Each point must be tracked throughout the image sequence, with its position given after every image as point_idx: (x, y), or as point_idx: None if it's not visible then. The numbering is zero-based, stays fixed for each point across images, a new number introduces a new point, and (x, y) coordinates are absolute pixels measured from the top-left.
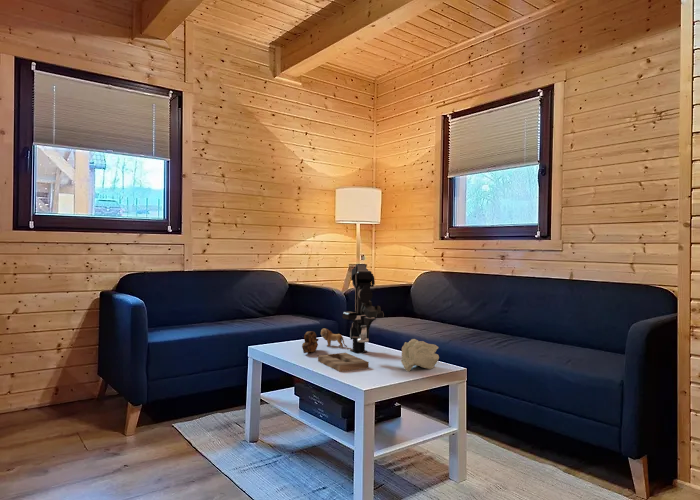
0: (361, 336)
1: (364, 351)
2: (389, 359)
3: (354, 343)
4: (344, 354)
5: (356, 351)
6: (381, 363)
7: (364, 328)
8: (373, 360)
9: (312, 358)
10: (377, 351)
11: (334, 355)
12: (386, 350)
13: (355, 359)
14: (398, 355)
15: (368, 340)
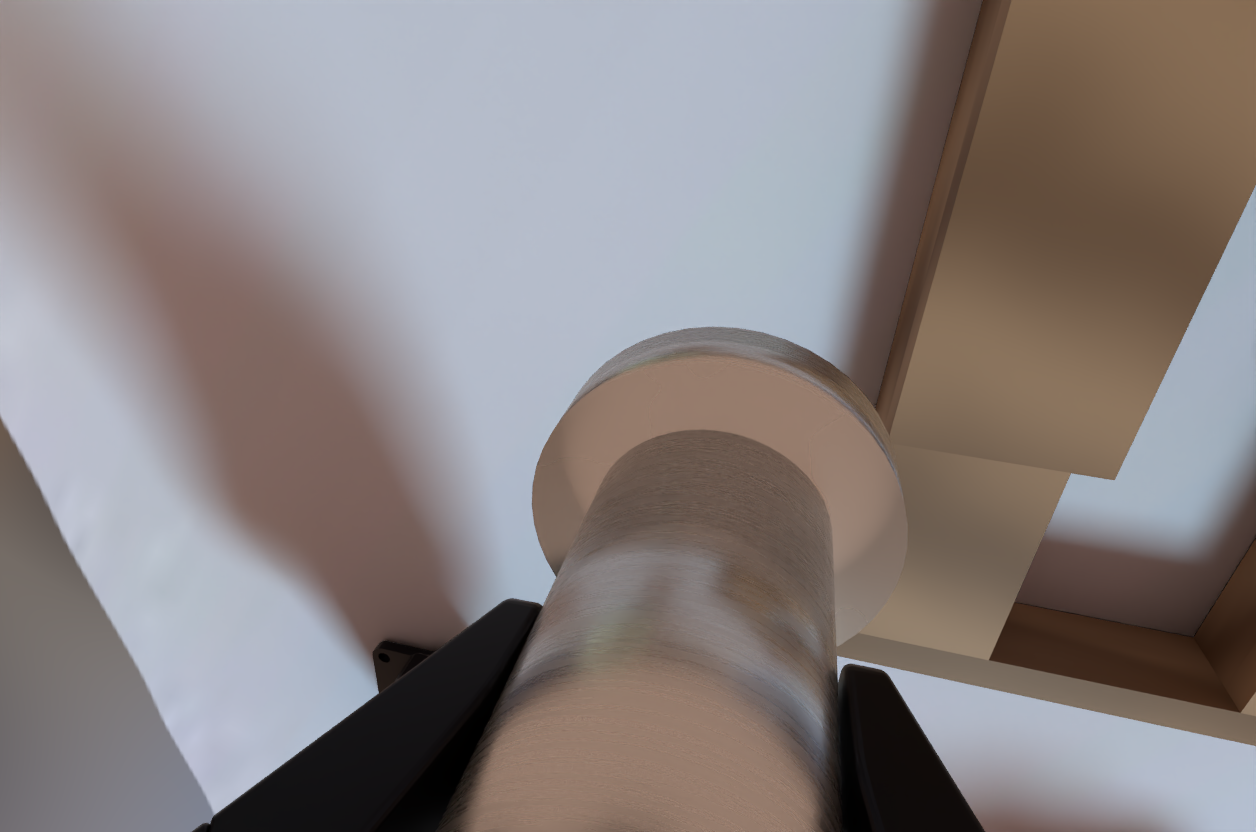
0: (824, 568)
1: (414, 654)
2: (276, 195)
3: None
4: (945, 585)
5: None
6: (528, 17)
7: (683, 818)
8: (535, 277)
9: (1227, 817)
10: (256, 598)
11: (1071, 663)
12: (144, 574)
13: (1130, 155)
14: (77, 319)
15: (587, 387)
